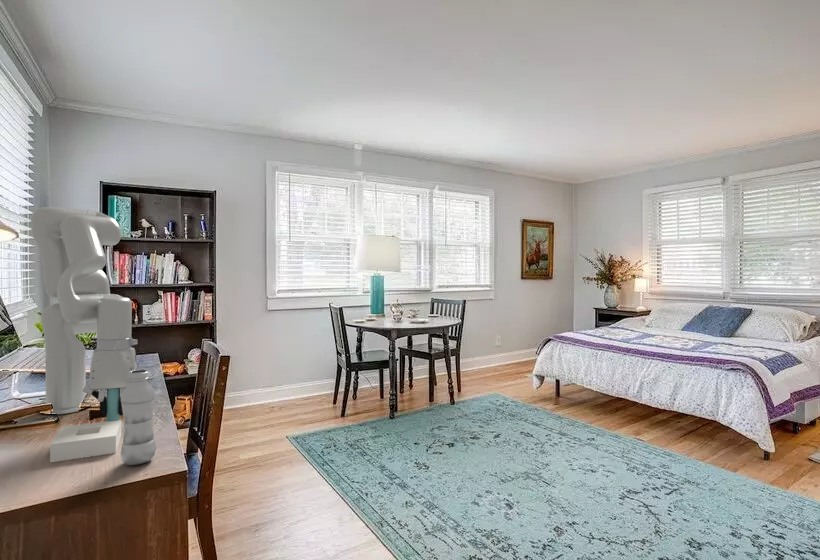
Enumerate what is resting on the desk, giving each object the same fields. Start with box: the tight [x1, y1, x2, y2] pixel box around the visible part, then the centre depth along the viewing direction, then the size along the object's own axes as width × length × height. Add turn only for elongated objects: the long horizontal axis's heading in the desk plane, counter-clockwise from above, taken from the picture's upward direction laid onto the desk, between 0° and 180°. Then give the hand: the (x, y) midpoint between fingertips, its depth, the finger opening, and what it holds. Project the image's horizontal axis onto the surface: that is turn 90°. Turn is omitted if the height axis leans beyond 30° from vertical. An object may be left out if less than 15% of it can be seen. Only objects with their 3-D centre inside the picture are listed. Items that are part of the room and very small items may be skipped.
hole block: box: [49, 419, 123, 463], centre depth 106 cm, size 12×12×4 cm
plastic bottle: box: [120, 369, 157, 466], centre depth 98 cm, size 6×7×20 cm
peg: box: [105, 388, 121, 422], centre depth 118 cm, size 3×3×10 cm
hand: (112, 413), depth 118 cm, fingers closed on peg, 3 cm apart
